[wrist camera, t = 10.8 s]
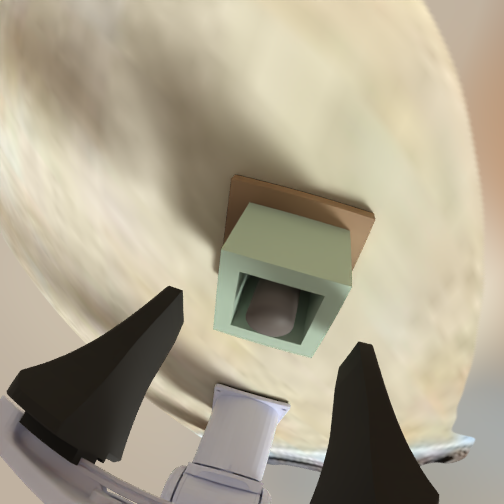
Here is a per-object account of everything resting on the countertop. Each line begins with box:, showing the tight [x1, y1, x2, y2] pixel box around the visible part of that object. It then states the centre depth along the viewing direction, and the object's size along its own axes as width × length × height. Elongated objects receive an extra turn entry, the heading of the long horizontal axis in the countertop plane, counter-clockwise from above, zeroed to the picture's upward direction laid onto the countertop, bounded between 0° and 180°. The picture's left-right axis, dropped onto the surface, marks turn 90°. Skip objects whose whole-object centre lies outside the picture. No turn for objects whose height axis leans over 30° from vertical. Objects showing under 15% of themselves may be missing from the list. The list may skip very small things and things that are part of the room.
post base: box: [223, 175, 375, 337], centre depth 13 cm, size 7×7×5 cm
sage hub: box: [213, 202, 352, 358], centre depth 13 cm, size 5×5×4 cm
